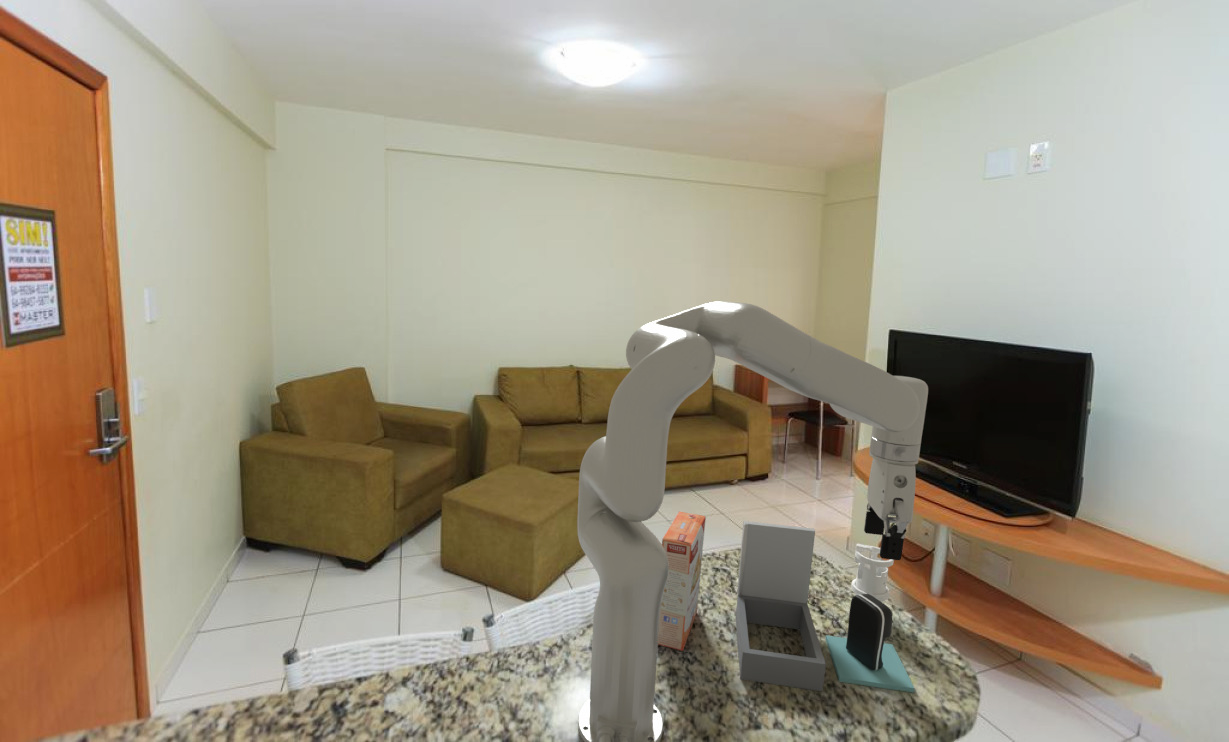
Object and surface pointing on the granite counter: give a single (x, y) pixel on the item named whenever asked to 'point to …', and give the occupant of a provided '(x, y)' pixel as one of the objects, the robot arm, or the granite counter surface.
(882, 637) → the battery charger
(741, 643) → the case
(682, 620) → the cracker box
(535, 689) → the granite counter surface
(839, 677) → the mat
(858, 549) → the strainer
